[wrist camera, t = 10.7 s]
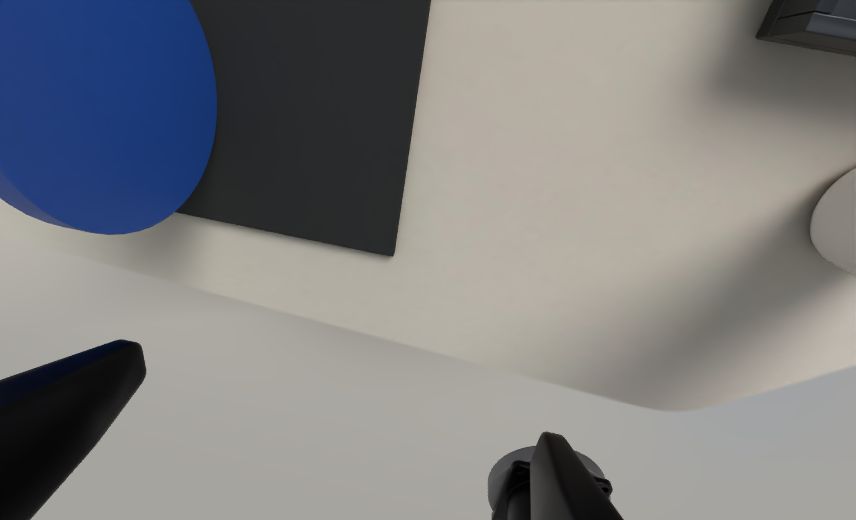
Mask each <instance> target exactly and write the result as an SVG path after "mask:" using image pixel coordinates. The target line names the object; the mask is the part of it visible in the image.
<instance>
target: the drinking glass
mask: <svg viewBox="0 0 856 520" xmlns="http://www.w3.org/2000/svg"><path fill="white" fill-rule="evenodd" d="M810 235H811V239H812V242H813V245H814V247H815V248H816V250H817V251H818V252H819V254H820V255H821V256H822V257H823V258H825V259H826V260H827V261H829V262H830V263H832V264H833V265H835V266H837V267H839V268H841V269H843V270H845V271H847V272H848V273H850V274H852V275H854V276H856V168H854V169H853V170H851V171H849V172H848V173H846V174H845V175H843V176H842V177H841V178H840V179H838V180H837V181H836V182H835V183H834V184H833V185H832V186H831V187H830V188H829V189H828V190H827V191H826V192H825V193H824V195H823V196H822V197H821V199H820V200H819V202H818V203H817V205H816V207H815V209H814V212H813V214H812V218H811V223H810Z"/></svg>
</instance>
